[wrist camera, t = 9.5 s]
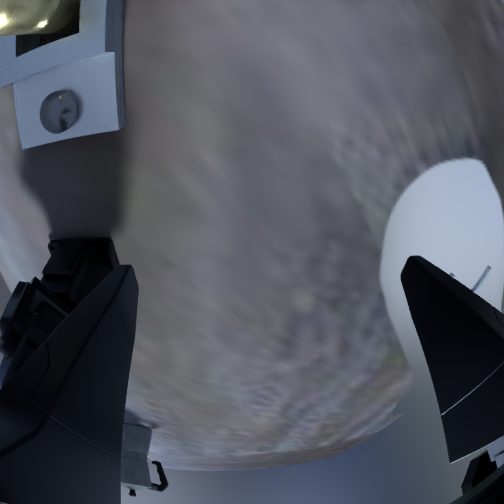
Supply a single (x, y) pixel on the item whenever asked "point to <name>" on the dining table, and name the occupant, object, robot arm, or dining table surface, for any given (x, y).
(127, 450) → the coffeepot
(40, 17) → the pin
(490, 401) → the robot arm
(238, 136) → the dining table surface
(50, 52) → the slotted mounting bracket
